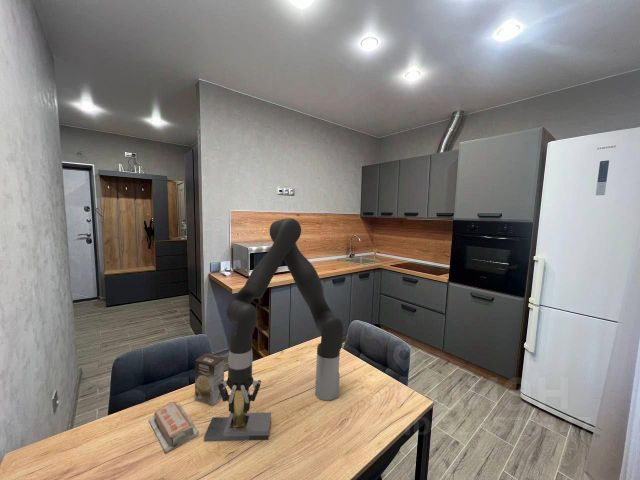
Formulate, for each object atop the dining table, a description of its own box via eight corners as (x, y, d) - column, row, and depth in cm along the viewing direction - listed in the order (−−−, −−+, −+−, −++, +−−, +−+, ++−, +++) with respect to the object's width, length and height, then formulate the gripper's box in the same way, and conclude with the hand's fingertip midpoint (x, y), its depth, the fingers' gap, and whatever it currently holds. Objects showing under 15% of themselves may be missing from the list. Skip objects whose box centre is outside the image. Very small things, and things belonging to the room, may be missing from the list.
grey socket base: (271, 420, 92) (271, 412, 91) (268, 439, 84) (268, 430, 83) (212, 421, 90) (212, 413, 90) (203, 441, 82) (204, 432, 82)
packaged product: (199, 422, 84) (165, 440, 77) (199, 436, 84) (165, 455, 77) (179, 394, 96) (148, 408, 89) (179, 407, 97) (148, 421, 89)
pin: (246, 417, 89) (247, 383, 88) (244, 426, 85) (244, 391, 84) (234, 417, 89) (235, 383, 88) (231, 426, 85) (232, 391, 84)
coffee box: (193, 400, 100) (193, 359, 99) (206, 390, 106) (206, 352, 105) (213, 406, 97) (213, 365, 96) (224, 395, 103) (225, 356, 102)
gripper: (264, 356, 89) (262, 403, 91) (221, 355, 88) (220, 403, 90) (260, 368, 82) (259, 420, 83) (214, 368, 81) (213, 420, 82)
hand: (239, 411), depth 86 cm, fingers closed on pin, 4 cm apart
